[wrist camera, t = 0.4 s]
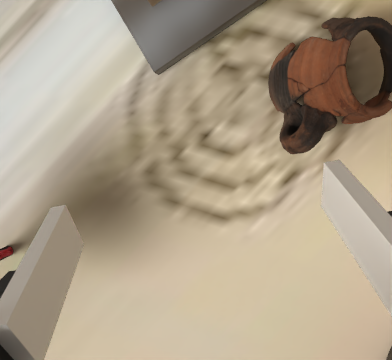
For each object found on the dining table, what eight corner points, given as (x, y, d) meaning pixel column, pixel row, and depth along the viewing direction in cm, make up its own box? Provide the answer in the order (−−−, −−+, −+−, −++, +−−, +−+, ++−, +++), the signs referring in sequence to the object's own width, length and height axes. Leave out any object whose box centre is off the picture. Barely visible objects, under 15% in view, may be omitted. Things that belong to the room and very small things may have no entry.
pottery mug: (284, 19, 30) (358, -26, 22) (349, 73, 33) (433, 51, 25) (231, 133, 29) (289, 129, 21) (304, 176, 32) (376, 186, 25)
